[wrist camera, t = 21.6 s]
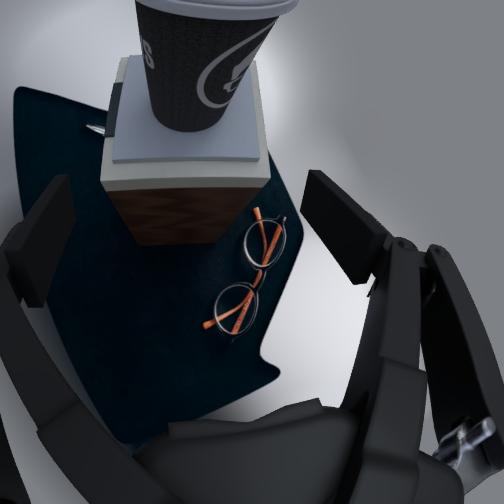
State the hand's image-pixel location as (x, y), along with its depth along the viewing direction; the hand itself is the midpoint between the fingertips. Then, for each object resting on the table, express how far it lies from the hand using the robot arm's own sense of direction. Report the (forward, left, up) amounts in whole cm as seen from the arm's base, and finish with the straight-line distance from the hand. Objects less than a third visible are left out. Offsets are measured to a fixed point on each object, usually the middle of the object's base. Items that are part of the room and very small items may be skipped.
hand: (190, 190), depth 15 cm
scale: (0, +11, -10) cm, 14 cm away
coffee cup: (0, +11, -7) cm, 13 cm away
